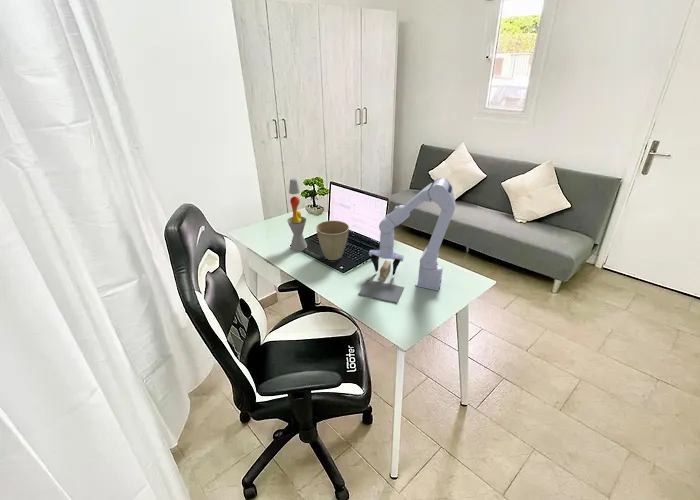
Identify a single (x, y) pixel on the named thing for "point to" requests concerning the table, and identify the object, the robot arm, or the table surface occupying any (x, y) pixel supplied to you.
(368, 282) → the rubber mat
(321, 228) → the plant pot
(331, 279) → the table surface
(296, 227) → the lava lamp
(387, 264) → the wooden tile
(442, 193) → the robot arm
